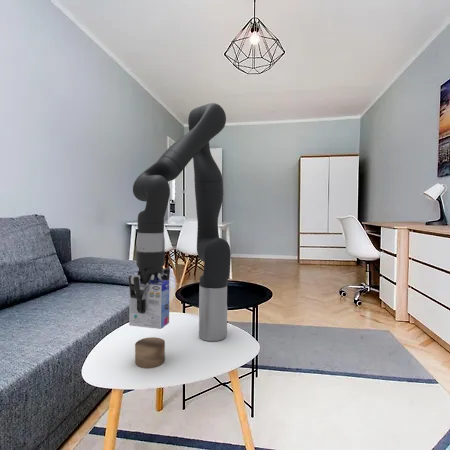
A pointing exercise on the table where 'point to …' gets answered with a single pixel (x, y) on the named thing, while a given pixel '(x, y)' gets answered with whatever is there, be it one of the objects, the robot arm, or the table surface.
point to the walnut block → (149, 352)
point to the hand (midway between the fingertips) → (150, 309)
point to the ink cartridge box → (151, 306)
